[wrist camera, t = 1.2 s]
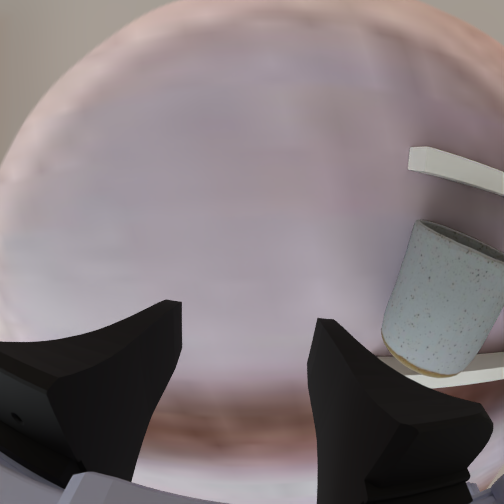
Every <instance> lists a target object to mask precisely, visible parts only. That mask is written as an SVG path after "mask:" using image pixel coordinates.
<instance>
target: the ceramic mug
mask: <svg viewBox="0 0 504 504" xmlns="http://www.w3.org/2000/svg"><path fill="white" fill-rule="evenodd" d="M503 306H504V253H502V252H501V251H499V250H497V249H495V248H493V247H491V246H489V245H487V244H485V243H483V242H481V241H479V240H477V239H475V238H472V237H470V236H468V235H466V234H464V233H461V232H459V231H455V230H453V229H451V228H449V227H446V226H443V225H440V224H437V223H434V222H430V221H426V220H417V221H416V222H415V224H414V227H413V231H412V234H411V238H410V241H409V244H408V248H407V251H406V254H405V257H404V260H403V263H402V266H401V269H400V272H399V276H398V279H397V282H396V284H395V287H394V290H393V292H392V295H391V297H390V299H389V302H388V305H387V308H386V311H385V314H384V319H383V324H382V328H381V334H382V338H383V341H384V343H385V345H386V347H387V349H388V350H389V351H390V353H391V354H392V355H393V356H394V357H395V358H396V359H397V360H398V361H399V362H401V363H402V364H403V365H404V366H406V367H407V368H409V369H411V370H413V371H415V372H417V373H419V374H422V375H424V376H429V377H434V378H448V377H452V376H456V375H457V374H459V373H460V372H462V371H463V370H464V369H465V368H466V367H467V366H468V365H469V363H470V362H471V361H472V360H473V359H474V357H475V356H476V355H477V353H478V352H479V350H480V348H481V347H482V345H483V343H484V341H485V340H486V338H487V336H488V334H489V332H490V330H491V328H492V327H493V325H494V323H495V321H496V319H497V318H498V316H499V314H500V312H501V310H502V308H503Z"/></svg>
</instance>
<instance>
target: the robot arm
mask: <svg viewBox="0 0 504 504" xmlns="http://www.w3.org/2000/svg"><path fill="white" fill-rule="evenodd" d="M181 350H182V302H178V301H172V300H164V301H161V302H159V303H157V304H155V305H153V306H151V307H149V308H147V309H145V310H143V311H141V312H139V313H137V314H135V315H132V316H130V317H128V318H126V319H124V320H121V321H119V322H117V323H114V324H112V325H110V326H107V327H104V328H101V329H99V330H95V331H92V332H89V333H85V334H82V335H77V336H72V337H67V338H62V339H57V340H49V341H39V342H0V504H228V503H221V502H214V501H208V500H202V499H197V498H191V497H186V496H182V495H177V494H173V493H168V492H164V491H160V490H157V489H153V488H149V487H146V486H142V485H139V484H135V483H132V482H131V481H132V477H133V473H134V470H135V466H136V462H137V459H138V455H139V452H140V449H141V446H142V442H143V439H144V436H145V433H146V430H147V427H148V425H149V422H150V419H151V417H152V414H153V412H154V410H155V408H156V406H157V404H158V402H159V400H160V398H161V396H162V394H163V392H164V390H165V388H166V386H167V384H168V382H169V380H170V378H171V376H172V374H173V372H174V370H175V368H176V365H177V362H178V359H179V356H180V353H181ZM307 375H308V389H309V395H310V401H311V406H312V412H313V418H314V423H315V429H316V437H317V456H318V489H317V504H504V474H503V475H502V476H501V477H500V478H499V479H498V480H497V481H496V482H495V483H494V484H493V485H492V487H491V488H489V489H486V490H484V491H482V492H480V491H479V489H478V487H477V485H476V483H470V482H467V483H466V482H465V481H468V480H469V479H470V473H469V471H468V469H467V467H468V466H469V465H470V464H471V463H472V462H473V461H474V459H475V458H476V457H477V456H478V455H479V453H480V452H481V451H482V450H483V448H484V447H485V445H486V444H487V443H488V441H489V439H490V437H491V434H492V432H493V422H492V421H491V419H490V417H489V416H488V414H487V413H486V411H485V410H484V408H483V406H482V405H481V404H480V403H476V402H472V401H468V400H464V399H460V398H456V397H452V396H449V395H447V394H444V393H441V392H438V391H436V390H433V389H431V388H428V387H426V386H424V385H422V384H420V383H418V382H416V381H414V380H412V379H410V378H408V377H406V376H404V375H403V374H401V373H399V372H398V371H396V370H395V369H393V368H391V367H390V366H388V365H387V364H385V363H384V362H383V361H381V360H380V359H379V358H377V357H376V356H375V355H374V354H372V353H371V352H370V351H369V350H367V349H366V348H365V347H364V346H363V345H362V344H360V343H359V342H358V341H357V340H356V339H355V338H354V337H353V336H352V335H351V334H349V333H348V332H347V331H346V330H345V329H344V328H343V327H342V326H341V325H340V324H339V323H338V322H336V321H335V320H334V319H322V318H317V323H316V327H315V332H314V336H313V341H312V345H311V349H310V354H309V358H308V362H307Z"/></svg>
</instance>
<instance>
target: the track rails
mask: <svg viewBox="0 0 504 504" xmlns="http://www.w3.org/2000/svg"><path fill="white" fill-rule="evenodd" d="M408 170H412V171H416V172H420V173H424V174H428V175H432V176H436V177H440V178H444V179H447V180H451V181H455V182H458V183H462V184H465V185H469V186H472V187H475V188H479V189H482V190H485V191H488V192H491V193H494V194H497V195H500V196H503V197H504V172H502V171H500V170H497V169H495V168H492V167H489V166H487V165H484V164H481V163H478V162H475V161H473V160H470V159H467V158H464V157H461V156H458V155H455V154H451V153H448V152H445V151H442V150H438V149H435V148H431V147H428V146H424V147H410V153H409V163H408ZM376 357H377V358H379V359H380V360H381V361H383V362H384V363H385V364H387V365H388V366H390V367H391V368H393V369H395V370H396V371H398V372H399V373H401V374H403V375H404V376H406V377H408V378H410V379H412V380H414V381H416V382H418V383H420V384H422V385H424V386H426V387H428V388H441V387H451V386H460V385H468V384H475V383H482V382H488V381H495V380H500V379H504V352H496V353H485V354H477V355H476V356H475V357H474V359H473V360H472V361H471V362H470V363H469V365H468V366H467V367H466V368H465V369H464V370H463V371H462V372H460V373H459V374H457V375H456V376H452V377H448V378H434V377H429V376H424V375H422V374H419V373H417V372H415V371H413V370H411V369H409V368H407V367H406V366H404V365H403V364H402V363H401V362H399V361H398V360H397V359H396V358H395V357H380V356H376Z"/></svg>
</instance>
